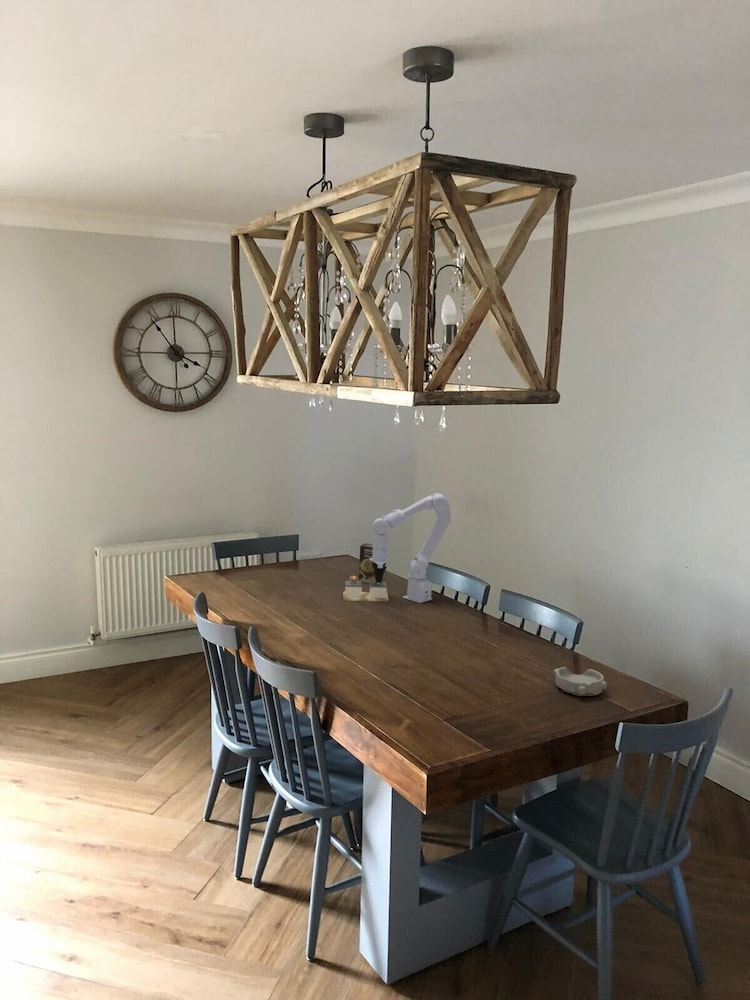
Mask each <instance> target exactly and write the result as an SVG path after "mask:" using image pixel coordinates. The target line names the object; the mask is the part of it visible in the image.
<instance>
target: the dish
mask: <svg viewBox="0 0 750 1000" xmlns="http://www.w3.org/2000/svg"><path fill="white" fill-rule="evenodd" d="M553 675H554V676H555V686H556V685H557V686H558V687H560V688H562V689H564V690H567V691H570V692H576V693H580V694H585V693H596V692H600V691H602V690H603V689H604V690H606V689H607V686H608V683H607V681H605V678H604V675H603V674H602V673H601V672H599V671H597V670H595V669H591V668H588V669H587V670H585V672H583V673H581V674H574V673H572V672H571V671H570V670H568V668H567V667H566V666H562V667H560V668H559V667H558V668H555V669H554V670H553ZM557 686H556V687H557ZM604 690H603V691H604Z"/></svg>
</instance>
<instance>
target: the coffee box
mask: <svg viewBox="0 0 750 1000" xmlns="http://www.w3.org/2000/svg"><path fill="white" fill-rule="evenodd" d="M372 556H373V543H362V544H361V545H360V547H359V564H358V565H359V566H358V581H362V583H366V584H370V581H371V582H376V581H375V572H374V569H373V566H372V562H373V561H370V560H369V559H370V558H372Z"/></svg>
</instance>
